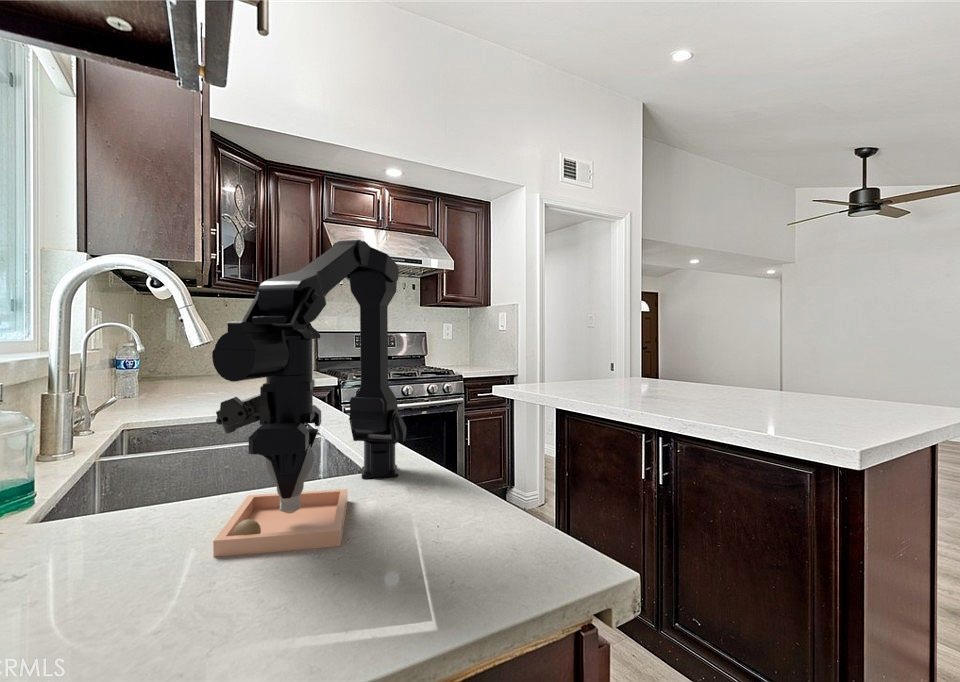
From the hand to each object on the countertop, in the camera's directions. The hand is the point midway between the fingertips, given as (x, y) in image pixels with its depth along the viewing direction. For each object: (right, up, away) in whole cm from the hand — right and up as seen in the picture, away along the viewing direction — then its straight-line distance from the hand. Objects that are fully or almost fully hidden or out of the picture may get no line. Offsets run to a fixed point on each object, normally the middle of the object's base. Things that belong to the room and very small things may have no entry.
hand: (290, 490), depth 65 cm
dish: (0, -5, 0) cm, 5 cm away
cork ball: (-3, -5, -6) cm, 8 cm away
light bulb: (0, -3, 0) cm, 3 cm away
